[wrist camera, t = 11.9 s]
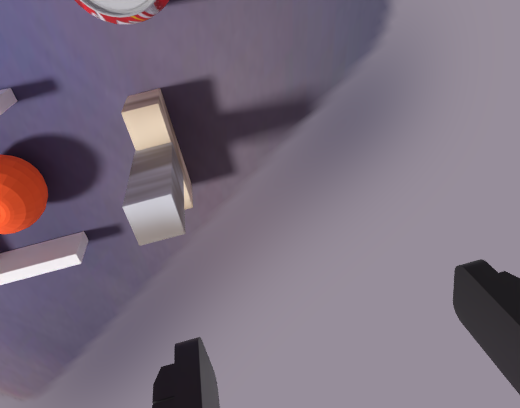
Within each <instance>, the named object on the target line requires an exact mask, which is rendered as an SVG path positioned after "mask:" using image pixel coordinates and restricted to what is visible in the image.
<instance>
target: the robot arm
mask: <svg viewBox="0 0 520 408" xmlns="http://www.w3.org/2000/svg"><path fill="white" fill-rule="evenodd" d="M453 305H454V309H455V312H456V314H457V316H458V318H459V320H460V321H461V323H462V324H463V325H464V326H465V328H466V329H467V330H468V331H469V332H470V334H471V335H472V336H473V337H474V339H475V340H476V341H477V342H478V344H479V345H480V346H481V347H482V349H483V350H484V351H485V352H486V353H487V355H488V356H489V357H490V358H491V360H492V361H493V362H494V363H495V365H496V366H497V367H498V368H499V370H500V371H501V372H502V373H503V375H504V376H505V377H506V378H507V380H508V381H509V382H510V383H511V384H512V386H513V387H514V388H515V389H516V391H517V392H518V393H519V394H520V278H518V277H516V276H514V275H512V274H510V273H508V272H506V271H504V272H500V273H498V272H497V271H496V270H495V269H493V268H492V267H491V266H490V265H489V264H488V263H487V262H486V261H484V260H477V261H473V262H470V263H466V264H463V265H459V266H457V267H456V268H455V276H454V292H453ZM152 408H220V406H219V396H218V388H217V382H216V377H215V373H214V370H213V367H212V365H211V362H210V360H209V357H208V355H207V352H206V350H205V347H204V345H203V342H202V340H201V338H200V337H198V338H194V339H191V340H188V341H184V342H181V343H177V344H175V363H174V364H170V365H167V366H163V367H161V369H160V371H159V374H158V376H157V378H156V380H155V382H154V385H153V405H152Z"/></svg>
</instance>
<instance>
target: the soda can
mask: <svg viewBox="0 0 520 408" xmlns="http://www.w3.org/2000/svg"><path fill="white" fill-rule="evenodd" d="M75 1H76V2H77V3H78V4H79V5H80V6H81V7H82V8H83V9H85V10H86V11H87V12H89V13H90V14H92V15H94V16H95V17H97V18H99V19H102V20H104V21H106V22H110V23H114V24H124V25H127V24H136V23H140V22H143V21H145V20H147V19H150V18H151V17H153V16H154V15H156V14H157V13H159V12H160V11H161V10H162V9H163V8H164V7H165V6H166V4H167V3H168V2H169V0H75Z"/></svg>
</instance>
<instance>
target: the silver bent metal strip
mask: <svg viewBox="0 0 520 408" xmlns="http://www.w3.org/2000/svg"><path fill="white" fill-rule="evenodd" d="M121 113H122V116H123V118H124V121H125V124H126V126H127V129H128V131H129V134H130V137H131V139H132V142H133V144H134V147H135V149H136V151H135V154H134V158H133V162H132V167H131V171H130V176H129V180H128V185H127V189H126V193H125V198H124V202H123V209H124V212H125V214H126V216H127V218H128V221H129V223H130V225H131V227H132V230H133V232H134V234H135V237H136V239H137V241H138V243H139V246H141V245H145V244H149V243H152V242H156V241H160V240H163V239H167V238H171V237H175V236H178V235H182V234H185V211H184V210H185V209H189V208H193V200H192V186H191V181H190V178H189V175H188V172H187V169H186V166H185V163H184V160H183V157H182V154H181V150H180V147H179V144H178V141H177V138H176V135H175V132H174V129H173V126H172V123H171V120H170V117H169V114H168V111H167V108H166V105H165V102H164V99H163V95H162V92H161V89H160V88H159V89H155V90H151V91H147V92H143V93H139V94H135V95H131V96H127V99H126V102H125V104H124V107H123V110H122V112H121Z"/></svg>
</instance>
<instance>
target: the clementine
mask: <svg viewBox="0 0 520 408" xmlns="http://www.w3.org/2000/svg"><path fill="white" fill-rule="evenodd" d="M47 199H48V189H47V185H46V183H45V181H44V178H43V176H42V175H41V173H40V172H39V171H38V169H37V168H35V167H34V166H33V165H32V164H31V163H29V162H27V161H25V160H23V159H21V158H18V157H15V156H11V155H0V234H10V233H16V232H18V231H21V230H23V229H25V228H28V227H30V226H31V225H32V224H33V223H35V222H36V221H37V220H38V219H39V218H40V216H41V215H42V213H43V212H44V210H45V207H46V203H47Z"/></svg>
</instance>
